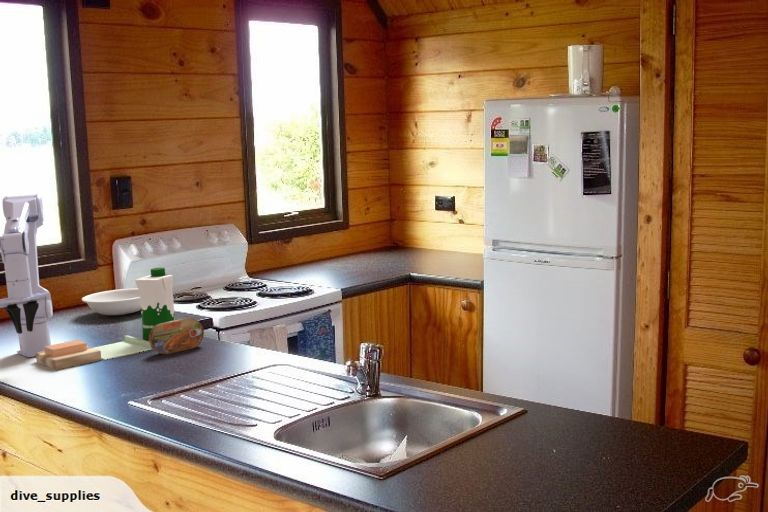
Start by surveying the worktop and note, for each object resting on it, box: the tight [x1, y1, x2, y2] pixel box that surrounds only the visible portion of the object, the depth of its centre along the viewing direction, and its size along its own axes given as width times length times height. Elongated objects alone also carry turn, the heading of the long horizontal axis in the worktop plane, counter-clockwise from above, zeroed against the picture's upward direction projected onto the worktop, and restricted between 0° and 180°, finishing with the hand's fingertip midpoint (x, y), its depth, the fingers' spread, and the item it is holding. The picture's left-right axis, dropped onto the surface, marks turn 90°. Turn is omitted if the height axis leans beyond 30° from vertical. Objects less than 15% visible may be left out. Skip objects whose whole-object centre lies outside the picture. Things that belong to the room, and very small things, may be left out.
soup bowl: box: [81, 287, 141, 316], centre depth 303 cm, size 24×24×7 cm
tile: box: [44, 339, 88, 357], centre depth 241 cm, size 6×9×2 cm, turn 131°
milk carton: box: [134, 267, 176, 342], centre depth 260 cm, size 9×9×20 cm
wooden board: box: [35, 345, 103, 371], centre depth 241 cm, size 14×12×2 cm
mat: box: [93, 334, 154, 361], centre depth 250 cm, size 16×14×2 cm
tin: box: [148, 317, 205, 355], centre depth 245 cm, size 15×3×8 cm, turn 127°
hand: (24, 332), depth 233 cm, fingers open, 2 cm apart
